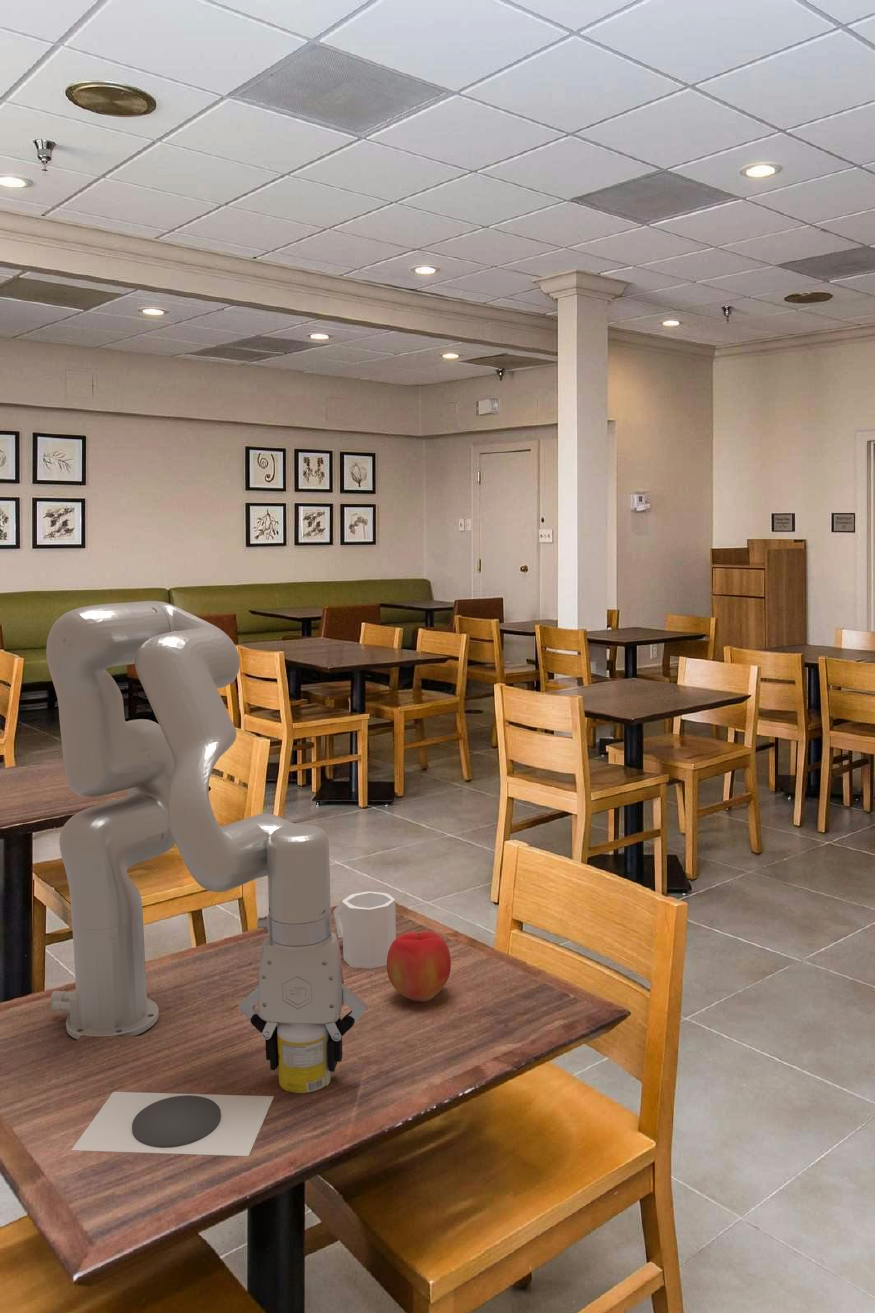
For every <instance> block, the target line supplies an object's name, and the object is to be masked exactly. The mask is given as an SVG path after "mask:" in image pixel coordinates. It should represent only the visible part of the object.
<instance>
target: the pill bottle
mask: <svg viewBox="0 0 875 1313" xmlns="http://www.w3.org/2000/svg"><path fill="white" fill-rule="evenodd" d="M329 1037H330V1033H329V1031H328V1029H327V1028H326V1026H325V1024H286V1023H277V1041H278V1067H277V1069H278V1085H279V1087H280V1088H281V1089H282V1090H283V1091H285V1092H288V1093H290V1094H296V1095H297V1094H298V1095H302V1094H303V1095H305V1094H311V1093H315V1092H318V1091H321V1090H323V1089H325V1088H326V1087H327V1086H328V1085H329V1084H330V1083H331V1081H332V1072H330V1070H328V1040H329Z"/></svg>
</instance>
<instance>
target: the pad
mask: <svg viewBox="0 0 875 1313" xmlns="http://www.w3.org/2000/svg"><path fill="white" fill-rule="evenodd" d="M220 1120H221V1110H220V1108H219V1106H218V1105H217V1104H216V1103H215V1102H214V1101H212V1100H210V1099H208V1098H205V1097H200V1096H191V1095H185V1096H175V1097H170V1098H166V1099H163V1100H160V1101H157V1102H155V1103H152V1104H151V1105H149V1106H147V1107H145V1108H144V1109H143V1110H141V1111H140V1112H139V1113H138V1114H137V1115H136V1117H135V1118H134V1120H133V1123H132V1132H133V1135H134V1137H135V1138H136V1139H137V1140H138V1141H139V1142H141V1143H143V1144H145V1145H148V1146H153V1147H161V1148H169V1147H178V1146H183V1145H187V1144H190V1143H193V1142H196V1141H198V1140H200V1139H202V1138H204V1137H206V1136H207V1135H209V1134H210V1133H212V1132H213V1131H214V1130H215V1129H216V1127H217V1126H218V1125H219V1123H220Z"/></svg>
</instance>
